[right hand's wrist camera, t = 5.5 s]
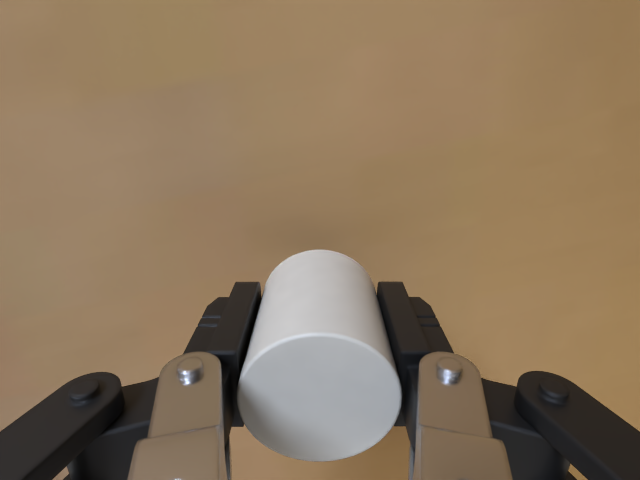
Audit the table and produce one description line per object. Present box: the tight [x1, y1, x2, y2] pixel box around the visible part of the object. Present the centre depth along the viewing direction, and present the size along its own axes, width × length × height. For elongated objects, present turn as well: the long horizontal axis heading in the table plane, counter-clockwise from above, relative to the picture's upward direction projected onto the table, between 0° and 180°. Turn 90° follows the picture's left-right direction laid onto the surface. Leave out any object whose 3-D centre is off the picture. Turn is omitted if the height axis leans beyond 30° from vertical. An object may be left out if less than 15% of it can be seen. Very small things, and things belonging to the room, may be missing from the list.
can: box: [237, 250, 402, 462], centre depth 11 cm, size 4×4×4 cm
